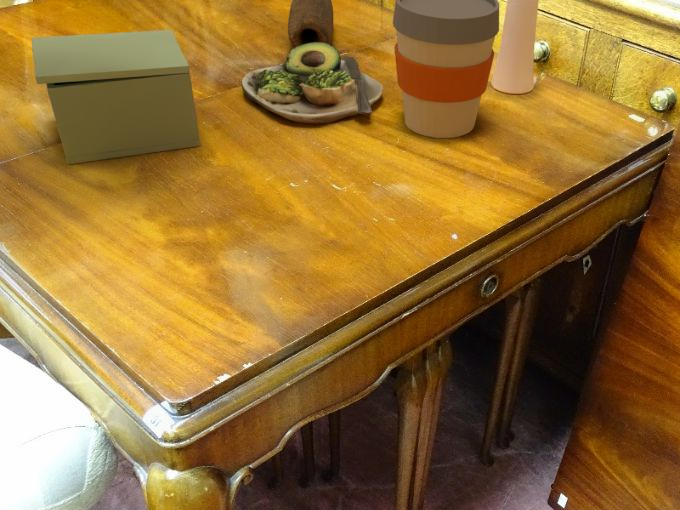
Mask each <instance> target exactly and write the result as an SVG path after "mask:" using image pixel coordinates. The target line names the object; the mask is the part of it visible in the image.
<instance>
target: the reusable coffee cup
mask: <svg viewBox="0 0 680 510" xmlns="http://www.w3.org/2000/svg"><path fill="white" fill-rule="evenodd" d="M392 17H393V18H392V19H393V20H392V25H393V28H394V29H395V33H396V34H395V35H396V43H395V44H394V47H393V48H394V49H393V50H394V58H395V69H396V77H397V78H396V79H397V85H398V87H399V89H400V90H401V94H402V95H401V96H402V105H403V106H402V107H403V116H404V117H403V118H404V123H405V126H406V127H407V128H408V129H409V130H410V131H412V132H414V133H416V134H418V135H421V136H424V137H429V138H436V139H449V138H450V139H453V138H457V137H461V136H464V135H467V134H469V133H470V132H471V131H472V130H473V129H474V128H475V125H476V120H477V116H478V111H479V107H480V103H481V98H482V95H484V94H485V92H486V90H487V87H488V83H489V80H490V75H491V70H492V66H493V63H494V58H495V50H494V49H493V47H494V44H495V39H496V36H497V35H498V34H499V32H500V2H499V0H395V2H394V9H393V16H392Z"/></svg>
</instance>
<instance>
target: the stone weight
mask: <svg viewBox="0 0 680 510" xmlns="http://www.w3.org/2000/svg"><path fill="white" fill-rule="evenodd" d="M287 20H288V22H287V34H288V39H289V42H290V44H291V46H292V47H293V49H294V48H295V47H297V46H300V45H303V44H307V43H313V42H322V43H326V44H330V45H331V43H332V39H333V33H334V5H333V1H332V0H292V1H291V4H290V8H289V14H288V19H287Z"/></svg>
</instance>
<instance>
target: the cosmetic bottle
mask: <svg viewBox="0 0 680 510" xmlns="http://www.w3.org/2000/svg"><path fill="white" fill-rule="evenodd" d="M538 12H539V0H506V7H505V14H504V20H503V26H502V33H501V38H500V43H499V48H498V53H497V58H496V62H495V65H494V69H493V74H492V77H491V81H490V85H491V87H492V88H493V89H494V90H497V91H498V92H501V93H504V94H509V95H522V94H527V93H529V92H531V91H533V90H534V87H535V79H534V63H535V61H534V60H535V45H536V43H535V41H536V31H537V20H538Z"/></svg>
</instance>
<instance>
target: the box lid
mask: <svg viewBox="0 0 680 510" xmlns="http://www.w3.org/2000/svg"><path fill="white" fill-rule="evenodd" d="M30 40H31V49H32V58H33V67H34V78H35V82H36V85H44V84H45V85H47V83H60V82H73V81H86V80H100V79H113V78H126V77H139V76H153V75H166V74H179V73H190V74H191V71H190V65H189V63H188V61H187V59H186V57H185V55H184V53H183V51H182V48H181V47H180V45H179V42H178V40H177V38H176V36H175V34H174V31H173V30H172V29H161V30H144V31H143V30H142V31H126V32H123V31H122V32H108V33H107V32H106V33H105V32H104V33H89V34H75V35H74V34H73V35H72V34H71V35H53V36H37V37H36V36H35V37H31V38H30Z"/></svg>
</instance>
